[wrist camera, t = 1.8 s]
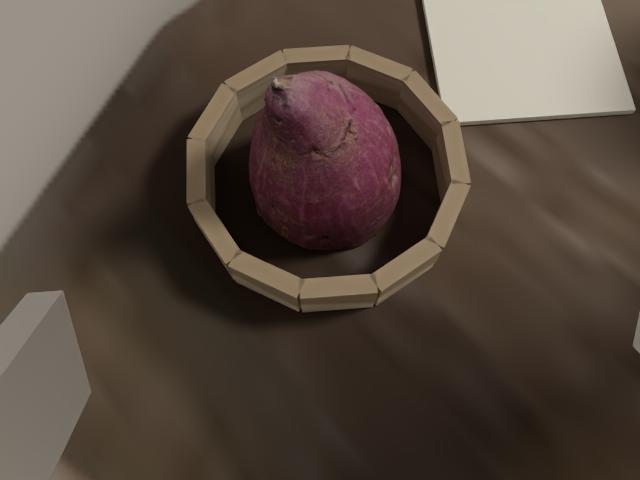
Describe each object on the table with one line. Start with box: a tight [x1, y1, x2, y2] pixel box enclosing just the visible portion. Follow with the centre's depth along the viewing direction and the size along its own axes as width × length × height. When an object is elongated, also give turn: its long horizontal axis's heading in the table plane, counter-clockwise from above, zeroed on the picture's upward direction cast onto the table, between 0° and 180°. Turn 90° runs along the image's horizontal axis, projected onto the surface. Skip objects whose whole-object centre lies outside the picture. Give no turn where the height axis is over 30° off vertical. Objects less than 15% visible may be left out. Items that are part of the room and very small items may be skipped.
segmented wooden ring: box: [186, 45, 471, 312], centre depth 38 cm, size 18×18×4 cm
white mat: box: [422, 0, 636, 126], centre depth 43 cm, size 14×14×1 cm
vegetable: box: [249, 70, 401, 251], centre depth 34 cm, size 10×10×15 cm
